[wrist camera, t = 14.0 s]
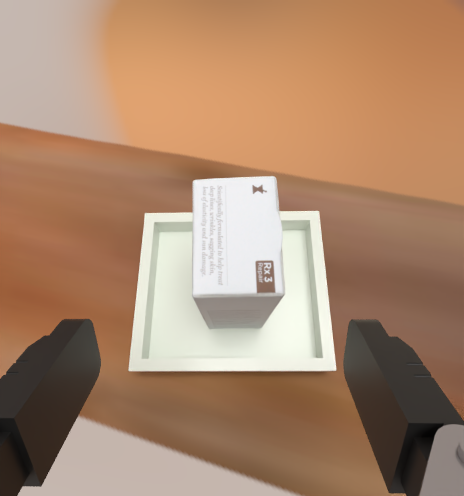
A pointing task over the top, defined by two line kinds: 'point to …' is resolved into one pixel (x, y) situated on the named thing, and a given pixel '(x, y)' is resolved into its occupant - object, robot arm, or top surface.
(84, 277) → the top surface
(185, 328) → the tray
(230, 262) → the skincare box
